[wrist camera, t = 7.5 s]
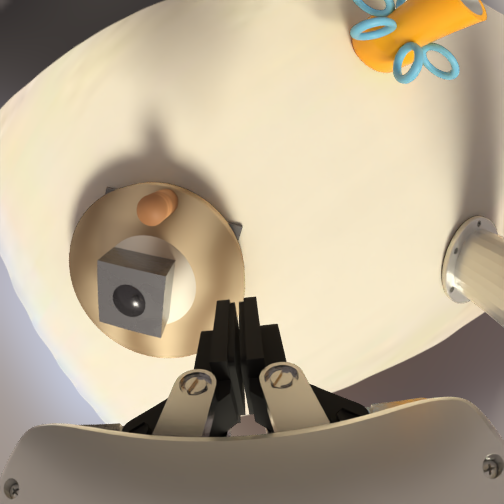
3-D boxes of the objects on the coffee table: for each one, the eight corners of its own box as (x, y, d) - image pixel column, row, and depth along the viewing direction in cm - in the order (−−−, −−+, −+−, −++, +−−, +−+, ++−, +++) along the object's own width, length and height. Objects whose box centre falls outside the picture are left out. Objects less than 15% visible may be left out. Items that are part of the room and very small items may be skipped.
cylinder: (348, 102, 22) (452, 61, 8) (306, 16, 19) (359, -73, 4) (432, 87, 21) (530, 69, 7) (396, 12, 18) (471, -38, 4)
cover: (175, 260, 23) (165, 276, 20) (169, 316, 25) (160, 338, 22) (114, 246, 22) (97, 260, 19) (113, 303, 24) (99, 321, 21)
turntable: (270, 214, 25) (280, 232, 19) (217, 361, 30) (214, 401, 24) (93, 163, 22) (56, 167, 16) (78, 315, 27) (53, 345, 21)
